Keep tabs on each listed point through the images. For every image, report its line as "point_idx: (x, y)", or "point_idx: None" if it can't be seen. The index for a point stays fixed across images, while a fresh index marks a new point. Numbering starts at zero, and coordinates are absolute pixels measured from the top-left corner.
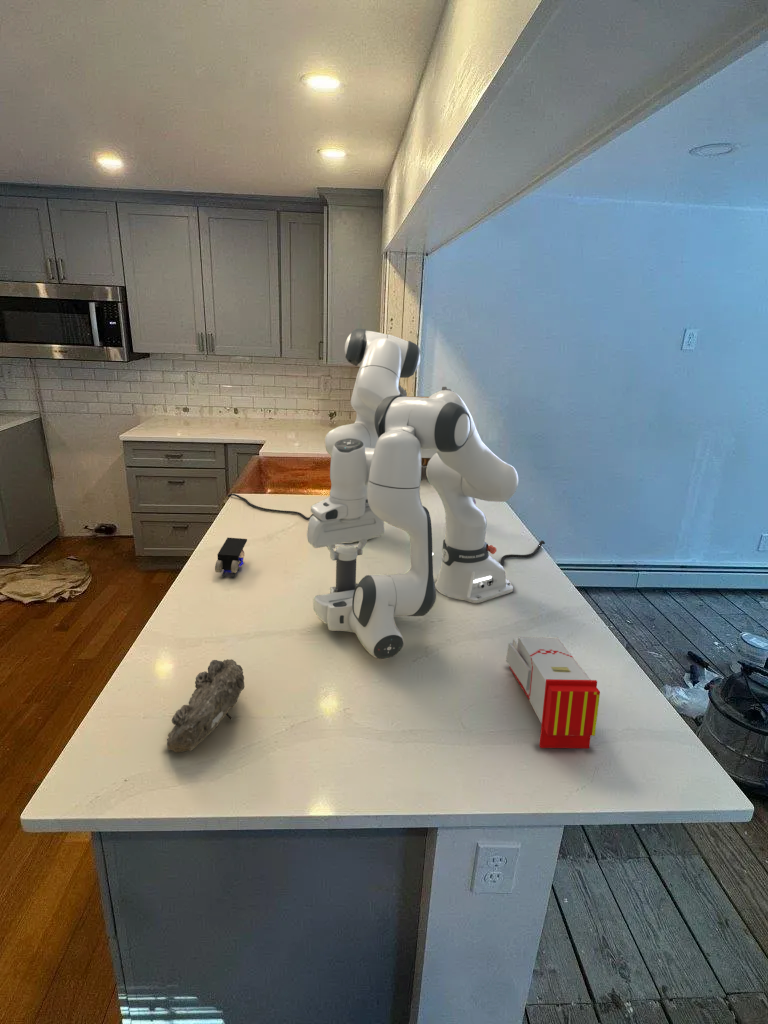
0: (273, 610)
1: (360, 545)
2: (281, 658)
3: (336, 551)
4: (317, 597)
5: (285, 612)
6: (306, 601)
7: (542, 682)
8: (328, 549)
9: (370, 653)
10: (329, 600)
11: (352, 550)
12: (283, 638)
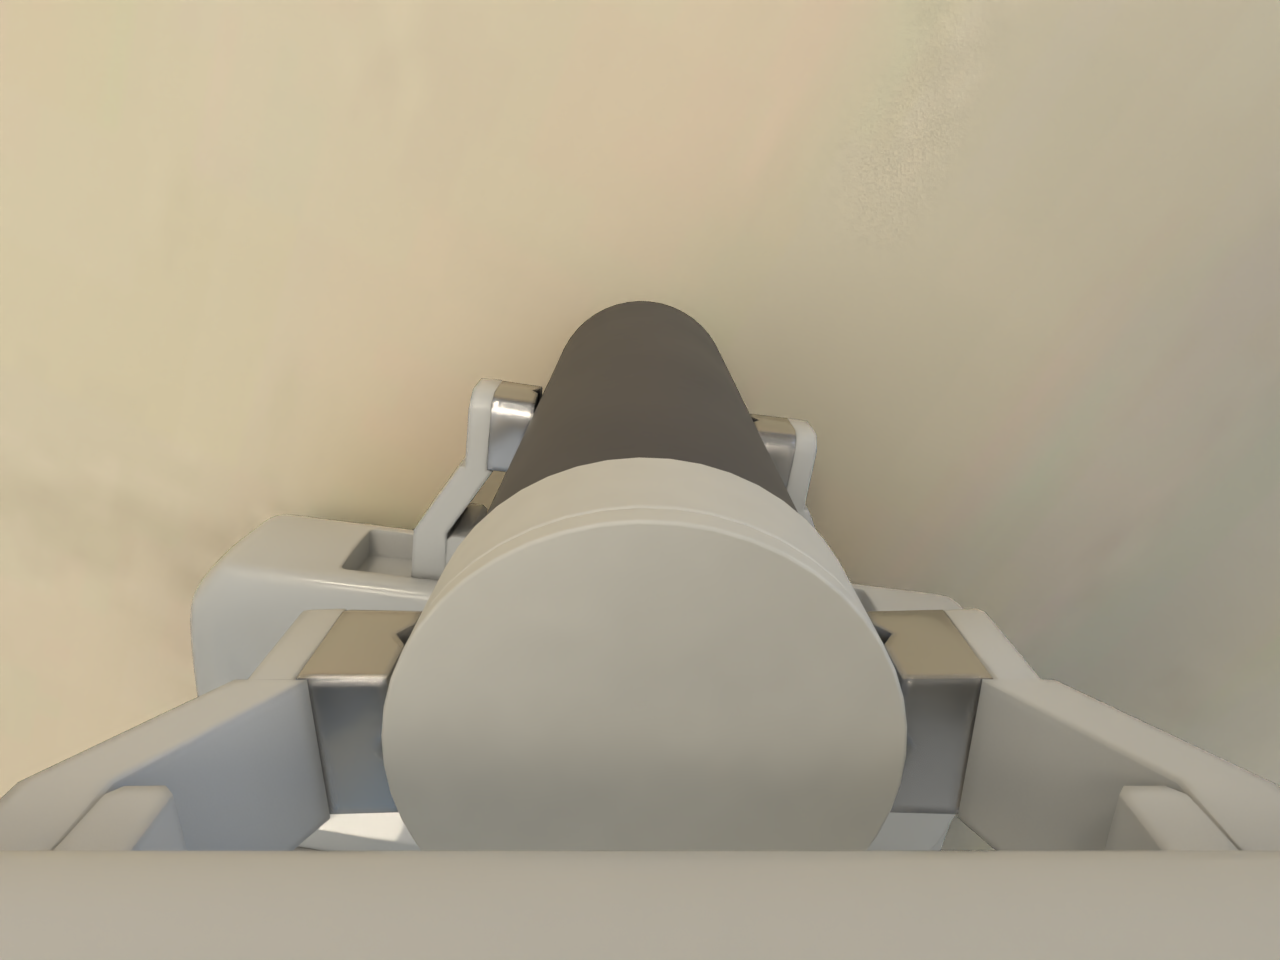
0: (10, 137)
1: (1032, 816)
2: (10, 759)
3: (382, 739)
4: (218, 634)
5: (117, 226)
6: (354, 112)
7: None
8: (147, 734)
9: None
10: None
11: (744, 844)
12: (48, 578)
